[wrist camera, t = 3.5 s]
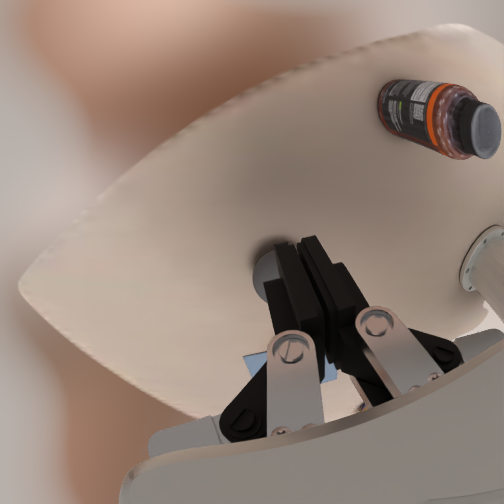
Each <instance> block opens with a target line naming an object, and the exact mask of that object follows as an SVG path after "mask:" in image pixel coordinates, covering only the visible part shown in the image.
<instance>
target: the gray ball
mask: <svg viewBox="0 0 504 504" xmlns="http://www.w3.org/2000/svg"><path fill="white" fill-rule="evenodd" d="M278 278H280V277H279V272H278V267H277V261H276V256H275V251H274V250H273V251H270V252H268V253H266V254H265V255H263V256H262V257H261V258H260V259H259V260H258V262H257V263H256V265H255V268H254V271H253V285H254V288H255V290H256V292H257V294H258V295H259V296H260V297H261V298H262V299H263V300H264V301H265V302H267V298H266V294H265V289H264V285H263V282H265V281H269V280H274V279H278ZM267 303H268V302H267Z"/></svg>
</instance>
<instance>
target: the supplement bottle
mask: <svg viewBox="0 0 504 504" xmlns="http://www.w3.org/2000/svg"><path fill="white" fill-rule="evenodd" d="M378 104H379V113H380V117H381V120H382V122H383V123H384V125H385V126H386V128H387V129H388V130H389V131H390V132H392V133H393V134H394V135H397V136H399V137H401V138H404V139H406V140H409V141H412V142H414V143H417V144H419V145H422V146H424V147H427V148H429V149H432V150H434V151H436V152H439V153H441V154H443V155H446V156H448V157H450V158H453V159H457V160H464V159H467V158H469V157H471V156H473V155H475V156H478V157H479V158H482V159H489V158H491V157H492V156H493V155H494V154H495V153H496V151H497V149H498V147H499V145H500V140H501V123H500V119H499V116H498V114H497V112H496V111H495V109H494V108H493V107H492V106H491V105H489V104H486V103H483V102H480V101H478V99H477V98H476V96H475V95H474V94H473V93H472V92H471V91H469V90H468V89H467V88H465V87H462V86H459V85H455V84H448V83H440V82H431V81H420V80H394V81H391V82H390V83H388V84H387V85H386V86H385V87H384V88H383V90H382V92H381V94H380V97H379V103H378Z"/></svg>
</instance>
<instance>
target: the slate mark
mask: <svg viewBox="0 0 504 504" xmlns="http://www.w3.org/2000/svg"><path fill="white" fill-rule="evenodd" d="M243 358H244V360H245V362H246V365H247V367H248V369H249V372H250V374H251V376H252V378H253V377H254V375H255V374H256V373H257V372H258V371H259V369H260V368H261V367H262V366H263V365H264V363H265V362H266V361H267V352H262V353H257V354H253V355H248V356H243ZM335 379H337V370H336V369H335V366H334V363H332V364H329V363H328V361H327V358H326V356H325V378H324V379H323V381H322V382H321V383H325V382H328V381H332V380H335Z"/></svg>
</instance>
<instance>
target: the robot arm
mask: <svg viewBox="0 0 504 504" xmlns="http://www.w3.org/2000/svg"><path fill="white" fill-rule="evenodd" d="M297 249H298V253H297V251H296V249H295V247H294V245H293V244H292V245H288V243H287V242H285V243H281V244H277V245H274V251H275V256H276V261H277V267H278V272H279V277H280V278H278V279H274V280H269V281H265V282H263V285H264V289H265V294H266V298H267V302H268V306H269V311H270V315H271V319H272V323H273V328H274V332H275V337H274V338H273V339H272V340H271V341H270V343H269V344H268V348H267V361H266V362H265V363H264V365H263V366H262V367H261V368H260V369H259V371H258V372H257V373H256V374H255V375H254V377H253V378H252V379H251V380H250V381H249V382H248V384H247V385H246V386H245V387H244V388H243V389H242V391H241V392H240V393H239V394H238V395H237V396H236V397H235V398H234V400H233V401H232V402H231V403H230V404H229V405H228V406H227V407H226V408H225V410H224V411H223V413H222V414H220V415H217V416H214V417H211V416H207V417H204V418H201V419H198V420H195V421H191V422H188V423H185V424H182V425H178V426H175V427H171V428H168V429H164V430H161V431H158V432H156V433H155V434H154V435H153V436H152V437H151V438H150V440H149V443H148V452H149V457H150V459H148V460H146V461H144V462H142V463H140V464H138V465H137V466H135V467H133V468H132V469H131V470H130V471H129V472H128V473H127V475H126V477H125V478H124V480H123V483H122V486H121V491H120V496H119V504H504V333H503V332H501V331H500V330H498V329H489V330H485V331H482V332H478V333H475V334H471V335H467V336H464V337H460V338H456V339H455V341H454V342H451V341H449V340H447V339H444V338H440V337H437V336H434V335H430V334H427V333H423V332H420V331H417V330H413V329H410V328H407V327H406V326H405V325H404V324H403V322H402V321H401V320H400V319H399V318H398V317H397V315H396V314H395V313H394V312H392V311H391V310H390V309H388V308H386V307H381V306H371V307H370V306H369V304H368V303H367V301H366V299H365V298H364V296H363V294H362V293H361V291H360V289H359V288H358V286H357V284H356V283H355V281H354V280H353V278H352V276H351V275H350V273H349V272H348V270H347V268H346V267H345V265H344V264H343V263H342V262H340V263H336V264H332V262H331V260H330V259H329V257H328V255H327V254H326V252H325V250H324V249H323V247H322V245H321V244H320V242H319V240H318V239H317V237H316V236H315V235H314V236H310V237H305V238H302V239H301V242H300V243H297ZM460 284H461V286H462V287H463V288H464V289H465V290H466V291H468V292H470V291H475V290H477V291H478V292H479V293H480V294H481V295H482V297H483V298H484V299H485V300H486V301H487V303H488V304H489V305H490V306H491V307H492V309H493V310H494V311H495V312H496V314H497V315H498V316H499V318H500V319H501V320H502V321H503V323H504V229H503V228H502V227H500V226H493V227H491V228H489V229H487V230H486V231H485V232H484V233H483V234H481V236H480V237H479V238H478V239H477V240H476V241H475V243H474V244H473V246H472V247H471V249H470V250H469V252H468V254H467V256H466V258H465V260H464V262H463V265H462V268H461V272H460ZM325 356H326V358H327V361H328V363H329V364H332V363H334V366H335V369H336V370H339V369H341V371H342V372H344V373H346V374H349V376H350V379H351V381H352V383H353V384H354V386H355V388H356V389H357V391H358V393H359V394H360V396H361V398H362V400H363V401H364V403H365V405H366V406H367V408H368V409H367V410H365V411H362V412H359V413H356V414H353V415H350V416H347V417H344V418H341V419H338V420H335V421H331V422H328V423H324V414H323V405H322V397H321V388H320V384H321V382H322V381H323V379H324V378H325Z"/></svg>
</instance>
